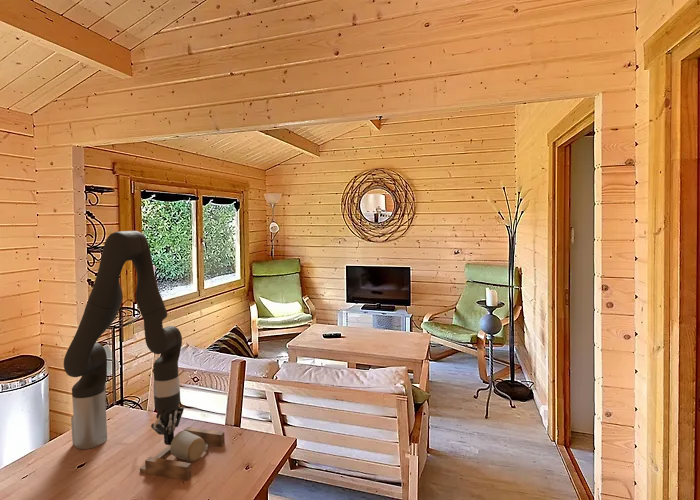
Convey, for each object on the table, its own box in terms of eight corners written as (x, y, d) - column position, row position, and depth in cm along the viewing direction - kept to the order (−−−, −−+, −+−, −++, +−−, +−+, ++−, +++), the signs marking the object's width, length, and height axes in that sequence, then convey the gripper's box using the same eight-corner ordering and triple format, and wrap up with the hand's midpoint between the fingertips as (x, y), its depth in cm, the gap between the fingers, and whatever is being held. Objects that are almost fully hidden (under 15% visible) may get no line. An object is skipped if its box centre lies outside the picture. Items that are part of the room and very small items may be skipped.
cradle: (139, 472, 122) (139, 459, 122) (182, 437, 141) (182, 426, 141) (187, 480, 118) (186, 467, 118) (224, 443, 137) (224, 432, 137)
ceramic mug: (189, 467, 124) (188, 443, 124) (169, 460, 128) (169, 436, 127) (214, 450, 134) (214, 427, 133) (195, 444, 137) (195, 421, 137)
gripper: (170, 381, 137) (172, 431, 138) (141, 398, 124) (144, 453, 125) (190, 383, 135) (192, 434, 136) (162, 401, 122) (165, 457, 123)
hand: (169, 443), depth 131 cm, fingers closed
